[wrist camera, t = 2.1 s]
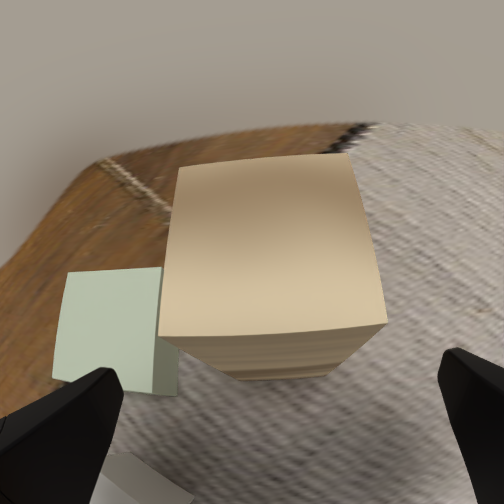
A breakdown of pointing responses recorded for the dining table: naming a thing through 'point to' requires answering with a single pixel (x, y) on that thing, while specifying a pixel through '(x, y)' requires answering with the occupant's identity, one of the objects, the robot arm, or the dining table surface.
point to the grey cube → (135, 484)
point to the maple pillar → (270, 267)
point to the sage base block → (116, 330)
